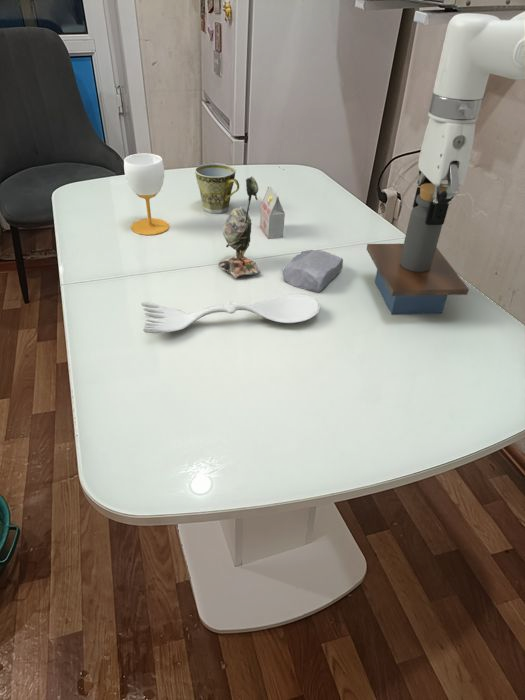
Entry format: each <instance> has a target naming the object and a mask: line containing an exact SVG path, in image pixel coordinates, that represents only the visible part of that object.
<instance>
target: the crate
mask: <svg viewBox="0 0 525 700" xmlns="http://www.w3.org/2000/svg"><path fill="white" fill-rule="evenodd" d="M374 279H375V280H374V283H375V285H376V288H377V289H378V291H379V293H380V295H381V297H382V299H383V301H384V303H385V305H386V306H387V308H388V310H389V312H390V314H391V315H418V314H419V315H420V314H422V315H423V314H424V315H426V314H442V313H443V311H444V308H445V304H446V301H447V298H448V295H419V296H392V295H391V293H390V291H389V290H388V288H387V286H386V284H385V282H384V280H383V279H382V277H381V275H380V273H379V271H378V269H377V268H376V273H375V278H374Z"/></svg>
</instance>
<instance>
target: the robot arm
mask: <svg viewBox="0 0 525 700" xmlns="http://www.w3.org/2000/svg"><path fill="white" fill-rule="evenodd" d="M490 75H495V76H499V77H502V78H507V79H511V80H515V81H525V11H523V12H521V13H519V14H517V15H515V16H513V17H512V18H511V19H501V18H499V17H498V16H496V15H491V14H486V13H476V12H475V13H473V12H472V13H471V12H464V13H457V14H455V15H454V16H452V17H451V19H450V20H449V21H448V23H447V27H446V31H445V36H444V40H443V46H442V49H441V54H440V59H439V63H438V68H437V72H436V76H435V80H434V81H435V82H434V85H433V90H432V95H431V99H430V104H429V109H428V113H427V116H428V117H429V118H428V122H427V126H426V129H425V131H424V136H423V140H422V143H421V148H420V152H419V156H418V163H417V165H418V166H417V167H418V176H419V177H418V180H417V183H416V185H417V187H416V189H415V190H416V191H415V195H414V200H413V204H412V209H413V208H414V207H416V206H418V204H417V203H416V198H417V195H419V194H420V186H421V185H422V184H426V183H433V184H434V193H433V202H430V204H429V208H428V212H427V216H426V220H425V223H426V224H427V225H442V226H443V225H444V224H445V221H446V217H447V214H448V209H449V206H450V204H451V203H452V200H453V199H454V197H455V196H457V194H459V192H460V187H462V186H463V185H464V184H465V181H466V177H467V173H468V169H469V166H470V165H469V164H470V160H471V156H472V151H473V145H474V141H475V140H474V139H475V133H476V132H475V131H476V122H477V120H478V117H479V114H480V110H481V105H482V102H483V99H484V94H485V91H486V87H487V84H488V80H489V77H490ZM442 181H447V183H442ZM440 188H447V189H446V191H443V192H442V193H441V194H440V195H439V192H440Z"/></svg>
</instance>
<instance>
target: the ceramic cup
mask: <svg viewBox="0 0 525 700" xmlns="http://www.w3.org/2000/svg"><path fill="white" fill-rule="evenodd" d="M194 172H195V178H196V183H197V187H198V190H199V194H200V198H201V203H202V204H201V205H202V208H203V211H205V212H206V213H209V214H224V213H226V212H228V211H229V208H230V202H231V197H232V196H233V195H234V194H235V193H237V192H238V191H239V190H240V183H239V181H238V180H237V179H236V169H235V167H234V166H231V165H228V164H225V163H205V164H200V165H198V166H196V167H195V169H194ZM234 184H235V186H236V189H235V190H234V191H232V190H233V187H234Z"/></svg>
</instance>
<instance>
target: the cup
mask: <svg viewBox="0 0 525 700" xmlns="http://www.w3.org/2000/svg"><path fill="white" fill-rule="evenodd" d="M123 171H124V176H125V180H126V182H127V184H128V187H129V189H130V190H131V191H132V193H134V194H135V195H136V196H137V197H139V198H141V199H144V200H145V205H146V214H147V218H142V219H139V220H137V221H134V222H132V224H131V225H130V228H131V231H132V232H133V233H135V234H137V235H140V236H156V235H161V234H163V233H166V232H167V231H168V230H169V228H170V224H169V223H168V222H167V221H166V220H164V219H162V218H154V217H153V218H152V213H151V203H150V199H152V198H155V197H156V196H157V195H158V194H159V193H160V192H161V191H162V188H163V186H164V182H165V181H164V180H165V165H164V160H163V157H162V156H160V155H158V154H155V153H143V152H142V153H135V154H130V155H127V156H126V157H124V159H123Z"/></svg>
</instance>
